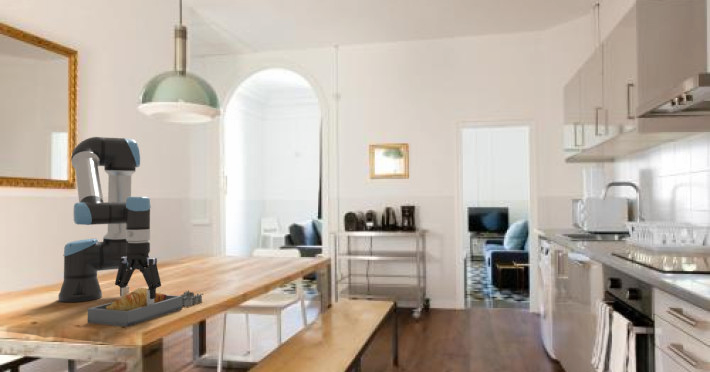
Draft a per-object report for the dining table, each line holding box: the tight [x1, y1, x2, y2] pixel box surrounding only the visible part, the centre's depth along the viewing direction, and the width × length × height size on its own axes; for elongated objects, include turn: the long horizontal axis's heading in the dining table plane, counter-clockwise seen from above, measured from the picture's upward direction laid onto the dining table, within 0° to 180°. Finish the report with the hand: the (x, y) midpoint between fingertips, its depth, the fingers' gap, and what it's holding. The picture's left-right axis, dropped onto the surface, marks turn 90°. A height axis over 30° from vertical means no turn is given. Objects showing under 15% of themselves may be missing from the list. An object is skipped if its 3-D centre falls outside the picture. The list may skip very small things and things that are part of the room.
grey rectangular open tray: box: [87, 294, 183, 327], centre depth 167 cm, size 16×26×4 cm, turn 161°
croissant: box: [106, 287, 167, 311], centre depth 167 cm, size 21×10×8 cm, turn 145°
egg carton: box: [180, 290, 204, 307], centre depth 187 cm, size 11×8×4 cm
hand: (137, 307), depth 167 cm, fingers closed on croissant, 10 cm apart
